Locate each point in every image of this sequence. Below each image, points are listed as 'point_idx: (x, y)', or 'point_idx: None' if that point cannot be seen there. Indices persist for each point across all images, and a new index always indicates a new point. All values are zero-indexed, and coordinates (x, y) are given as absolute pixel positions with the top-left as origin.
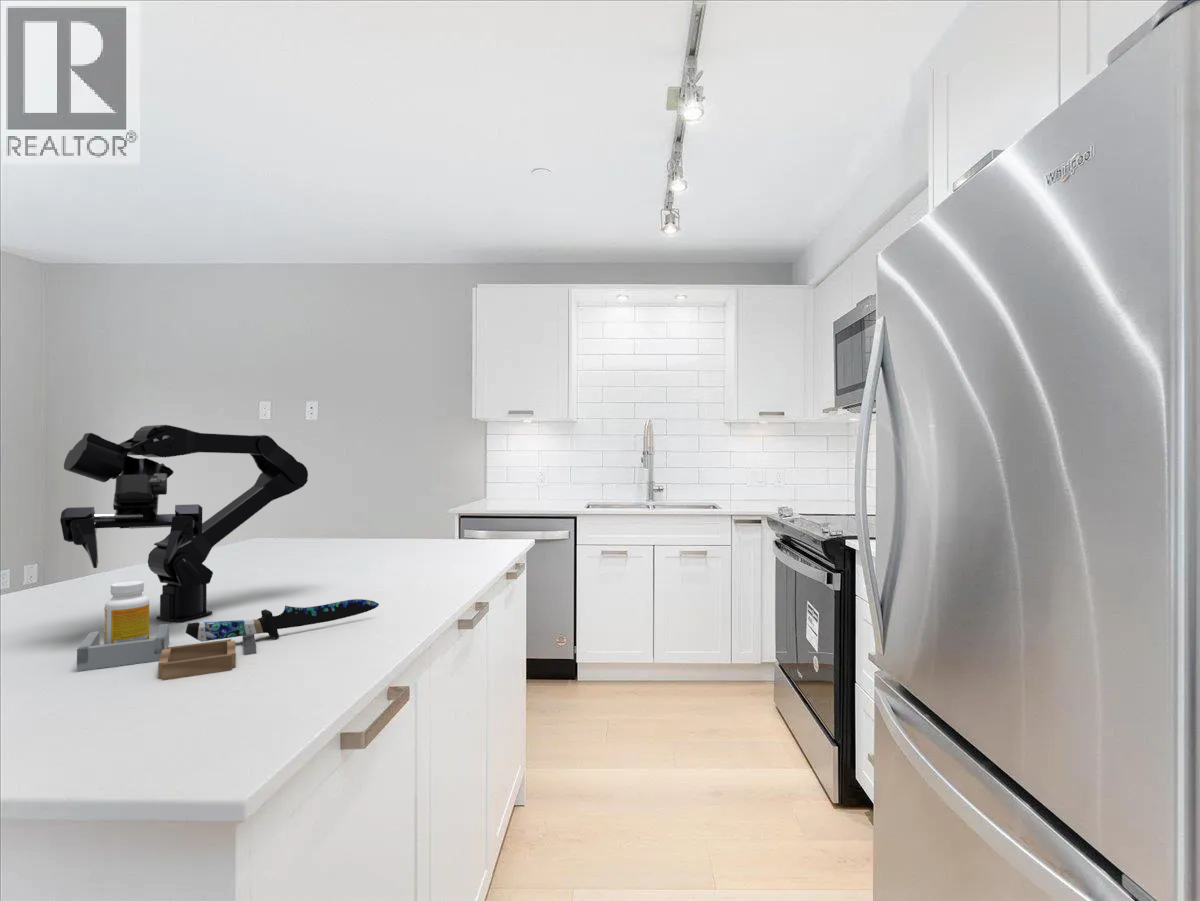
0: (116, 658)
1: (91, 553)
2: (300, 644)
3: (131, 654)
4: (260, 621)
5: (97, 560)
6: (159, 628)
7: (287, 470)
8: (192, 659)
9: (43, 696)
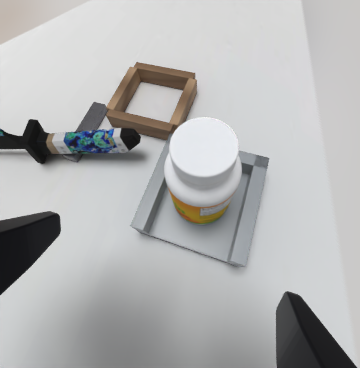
0: None
1: (337, 348)
2: (51, 107)
3: None
4: (48, 133)
5: (285, 336)
6: (153, 201)
7: None
8: (167, 71)
9: (290, 109)
